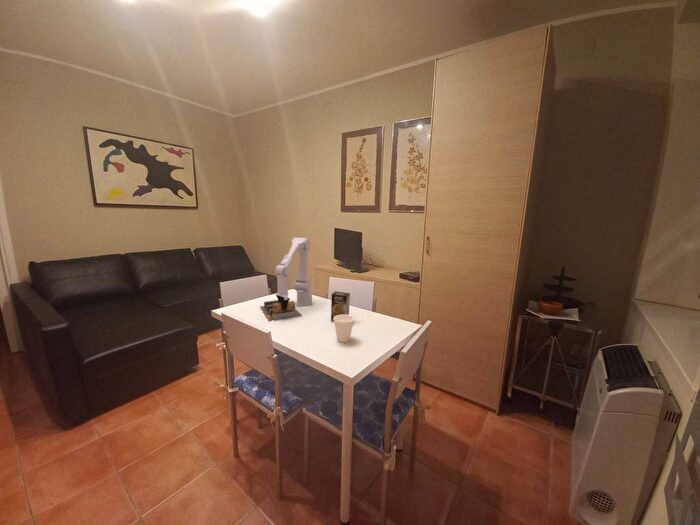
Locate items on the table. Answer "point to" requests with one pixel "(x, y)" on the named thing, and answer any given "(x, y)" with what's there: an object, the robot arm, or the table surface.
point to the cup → (343, 327)
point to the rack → (271, 316)
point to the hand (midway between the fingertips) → (283, 308)
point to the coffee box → (339, 304)
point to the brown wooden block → (278, 307)
